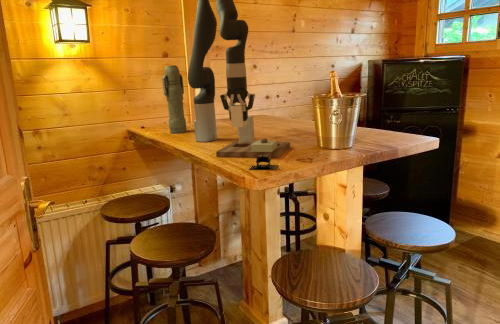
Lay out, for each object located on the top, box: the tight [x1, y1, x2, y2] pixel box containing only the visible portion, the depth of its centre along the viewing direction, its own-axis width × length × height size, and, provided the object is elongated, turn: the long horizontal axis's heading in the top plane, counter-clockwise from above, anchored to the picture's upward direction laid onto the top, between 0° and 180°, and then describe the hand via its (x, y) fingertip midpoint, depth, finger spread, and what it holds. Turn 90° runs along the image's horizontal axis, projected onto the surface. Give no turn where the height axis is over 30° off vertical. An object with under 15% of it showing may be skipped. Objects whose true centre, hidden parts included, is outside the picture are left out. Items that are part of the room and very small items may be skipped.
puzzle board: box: [215, 141, 291, 159], centre depth 150 cm, size 24×18×2 cm
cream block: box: [230, 104, 246, 128], centre depth 151 cm, size 4×4×8 cm
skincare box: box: [237, 115, 256, 142], centre depth 167 cm, size 6×4×12 cm
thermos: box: [161, 64, 187, 135], centre depth 206 cm, size 9×12×35 cm
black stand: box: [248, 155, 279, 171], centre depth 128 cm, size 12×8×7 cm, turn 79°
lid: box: [251, 138, 278, 152], centre depth 141 cm, size 8×8×4 cm
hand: (238, 120), depth 151 cm, fingers closed on cream block, 4 cm apart
